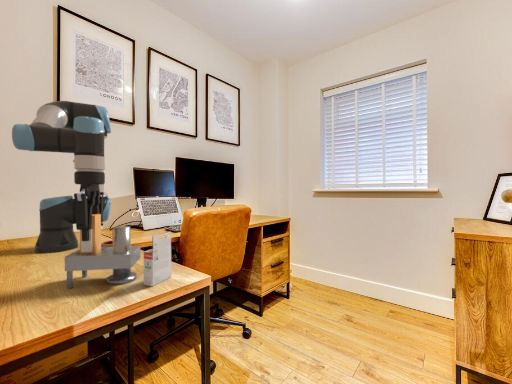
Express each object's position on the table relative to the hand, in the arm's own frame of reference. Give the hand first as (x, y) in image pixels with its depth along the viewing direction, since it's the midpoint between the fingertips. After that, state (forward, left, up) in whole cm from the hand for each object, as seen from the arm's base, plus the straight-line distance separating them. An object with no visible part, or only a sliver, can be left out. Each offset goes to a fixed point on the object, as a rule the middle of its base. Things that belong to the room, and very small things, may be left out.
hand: (90, 249), depth 75 cm
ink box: (+3, +20, -10) cm, 22 cm away
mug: (-26, -4, -10) cm, 28 cm away
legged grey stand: (0, +4, -10) cm, 10 cm away
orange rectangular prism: (0, 0, -4) cm, 4 cm away
